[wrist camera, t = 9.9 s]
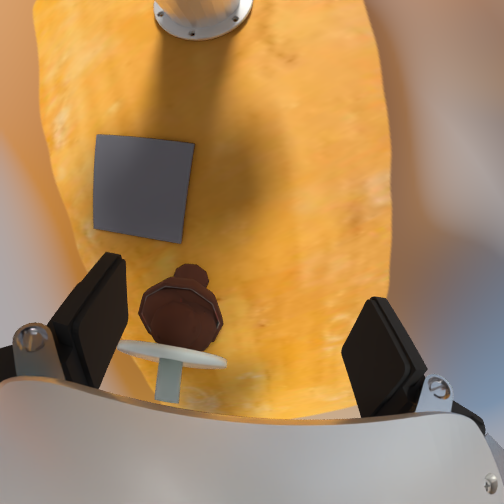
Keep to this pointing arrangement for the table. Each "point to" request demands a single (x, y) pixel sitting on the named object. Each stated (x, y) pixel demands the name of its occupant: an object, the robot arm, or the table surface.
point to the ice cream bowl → (182, 310)
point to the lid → (170, 364)
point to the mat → (141, 186)
